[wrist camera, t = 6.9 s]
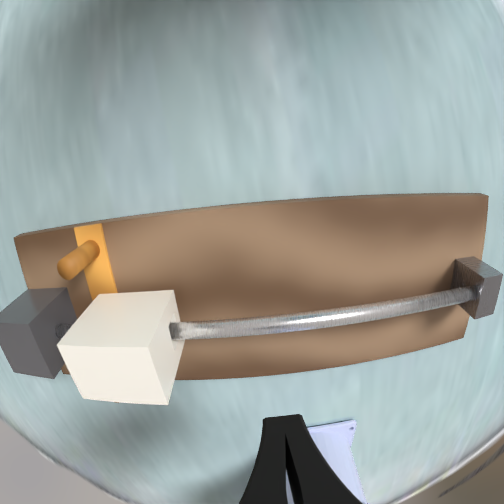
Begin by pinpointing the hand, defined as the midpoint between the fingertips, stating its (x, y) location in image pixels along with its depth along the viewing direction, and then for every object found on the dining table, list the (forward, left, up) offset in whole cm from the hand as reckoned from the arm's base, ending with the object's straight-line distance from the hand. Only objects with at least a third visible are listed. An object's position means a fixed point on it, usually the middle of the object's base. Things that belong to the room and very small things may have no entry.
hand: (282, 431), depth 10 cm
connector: (+1, +15, -10) cm, 18 cm away
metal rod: (+1, -1, -10) cm, 10 cm away
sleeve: (+1, +8, -8) cm, 11 cm away
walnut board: (+1, 0, -10) cm, 10 cm away
